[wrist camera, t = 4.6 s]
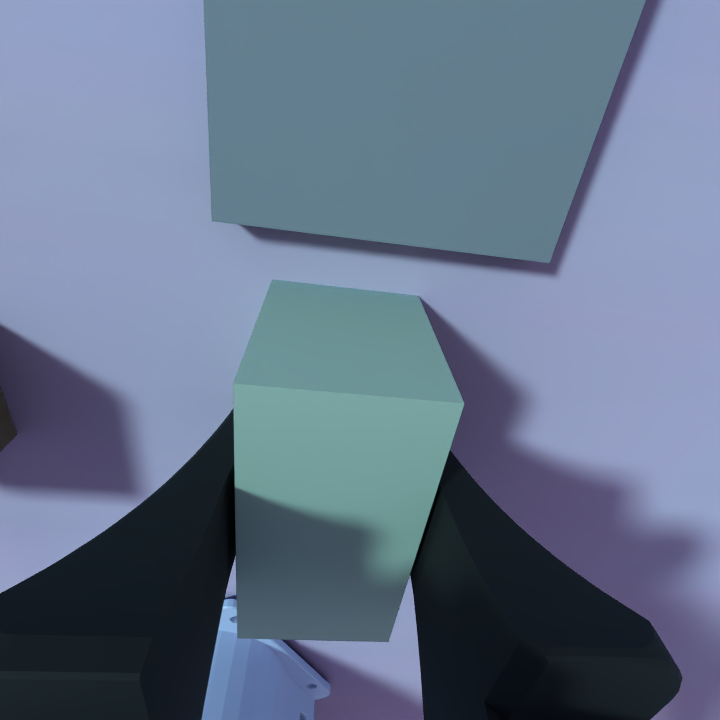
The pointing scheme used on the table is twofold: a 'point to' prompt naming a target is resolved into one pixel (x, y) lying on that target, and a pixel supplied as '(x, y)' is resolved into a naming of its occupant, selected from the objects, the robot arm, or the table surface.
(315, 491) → the tall sage green block
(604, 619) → the robot arm
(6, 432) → the plain olive brown cube
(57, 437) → the table surface
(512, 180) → the rubber mat
